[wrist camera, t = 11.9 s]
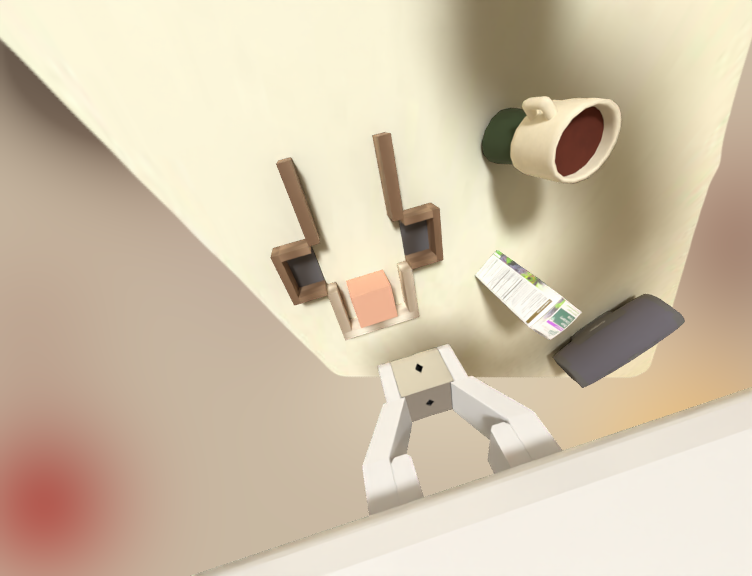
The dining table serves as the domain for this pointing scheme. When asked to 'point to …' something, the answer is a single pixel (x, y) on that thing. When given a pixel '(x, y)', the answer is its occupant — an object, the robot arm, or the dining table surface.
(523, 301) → the syrup box
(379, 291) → the terracotta block
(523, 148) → the character mug
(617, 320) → the bluetooth speaker
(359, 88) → the dining table surface
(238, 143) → the dining table surface
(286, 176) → the trap channel
